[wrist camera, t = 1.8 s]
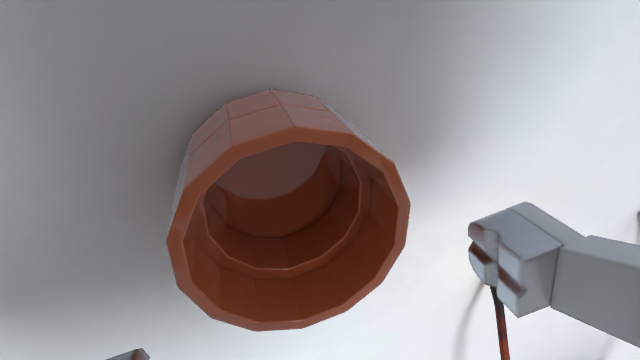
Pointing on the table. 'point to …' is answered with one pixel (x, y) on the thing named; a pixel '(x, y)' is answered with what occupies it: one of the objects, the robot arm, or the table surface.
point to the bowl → (283, 214)
